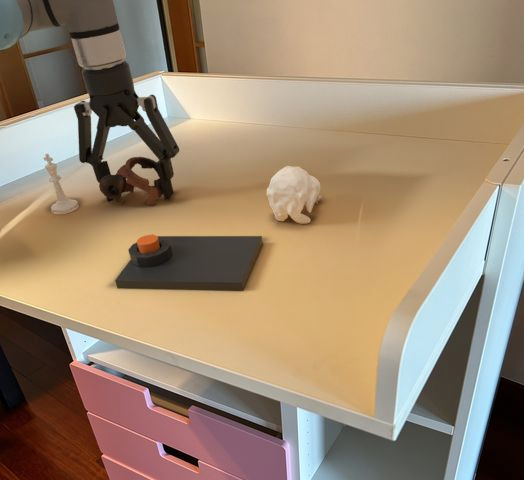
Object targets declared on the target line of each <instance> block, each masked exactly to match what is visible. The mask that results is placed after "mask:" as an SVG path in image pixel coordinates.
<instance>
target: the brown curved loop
mask: <svg viewBox="0 0 524 480" xmlns="http://www.w3.org/2000/svg"><path fill="white" fill-rule="evenodd" d="M157 162H158V161H156V160H154V159H151V158H148V157H145V156H133V157H130V158H128V159H127V160H126V162H125V164H123V165H122V166H120V167H119V168H118V170H117V172H116V173H115V174H111V175H110V174H109V175H106V176H104V177H103V178H102V179H101V181H100V183H98V189H99V192H101V194H102V195H103V196H104V197H105V198H106V197H107V198H109V199H114V200H113V201H115V203H117V204H122V202H123V199H122V195H123V193H132V192H133V193H134V192H135V188H137V189H139V190H141V191H143V192H146V193H147V200H146V203H147V204H148V205H150V206H155V205H156V204H157V202H158V201H159V198H161V197H162V196H164V194H163V190H162V186H161V182H160V178H159V174H158V170H157V166H156V163H157ZM136 165H139V166H140V167H141V169H145V170H147V169H148V170H149V169H150V170H151V169H153V170H154V171H155V172H156V174H157V176H158V178H157V179H154V180H153V185H150V180H149V179H148V178H145V177H141V176H140V175H138V174H137V173H136V172H135V171H133V170H132V169H133V168H134V167H136ZM110 185H114V186H113V189H112V190H109V188H108V187H109V186H110ZM107 198H106V199H107Z"/></svg>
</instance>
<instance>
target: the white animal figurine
mask: <svg viewBox="0 0 524 480" xmlns="http://www.w3.org/2000/svg"><path fill="white" fill-rule="evenodd" d="M320 193H321V183H320V181H319V180H318V179H317V177H315V176H313V175H311V174H310V175H309V173H308V172H307V171H306V170H305V169H302V167H301V166H290V165H286V166H284V167H282V168H281V169H280V170H278V171H277V172H276V173H275V174H274V175H273V176H272V177H271V179H270V181H269V185H268V187H267V189H266V197H267V199H268V204H269V206H270V208H271V210H272V212H273V215H274V219H275V220H276V221H279V222H284V221H286V220H287V219H288V218H289V217H290V218H291V219H292V220H293V221H294V222H296V223H297V224H300V225H302V224H303V225H307V224H309V223H311V218H310V217H309V216H308V215H306V214H303V213H302V211H303V210H304V207H305V206H306V211H307V212H308V213H310V214H311V213H312V211H313V208H314V206H315V204H318V205H319V203H318V201H321V198H322V197H323V195H322V194H320Z"/></svg>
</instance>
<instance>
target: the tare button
mask: <svg viewBox="0 0 524 480" xmlns="http://www.w3.org/2000/svg"><path fill="white" fill-rule="evenodd" d="M157 236H158V235H156V234H146V235H143V236H141V237H139V238H138V239H137V240H136V242H137V244H138V248H139V252H140V253H151V252H155V251H157V250H159V249H160V244H159V240H158V237H157Z"/></svg>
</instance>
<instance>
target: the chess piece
mask: <svg viewBox="0 0 524 480" xmlns="http://www.w3.org/2000/svg"><path fill="white" fill-rule="evenodd" d="M44 156H45V157H43V160H44V161H46V163H47V164H45V166H44V169H45V170H46V171H47V173H48V174H49V176H50V177H49V178H48V181H49V183H53V186H54V190H55V195H56V201H55V203H53V204H51V207H50V210H51V213H52V214H54V215H66V214H69V213H72V212H75V210H77V209H78V208H79V206H80V205H79V204H78V201H77V200H75V199H71V198H69V197H67V196H66V194H65V191H64V189H63V187H62V185H61V183H60V181H61V180H62V177H61V176H60V175H58V169H57V168H58V167H57V166H58V165H57V163H55V162H53V161H54V159H53V157H51V156H50V154H49V153H45V154H44Z"/></svg>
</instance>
